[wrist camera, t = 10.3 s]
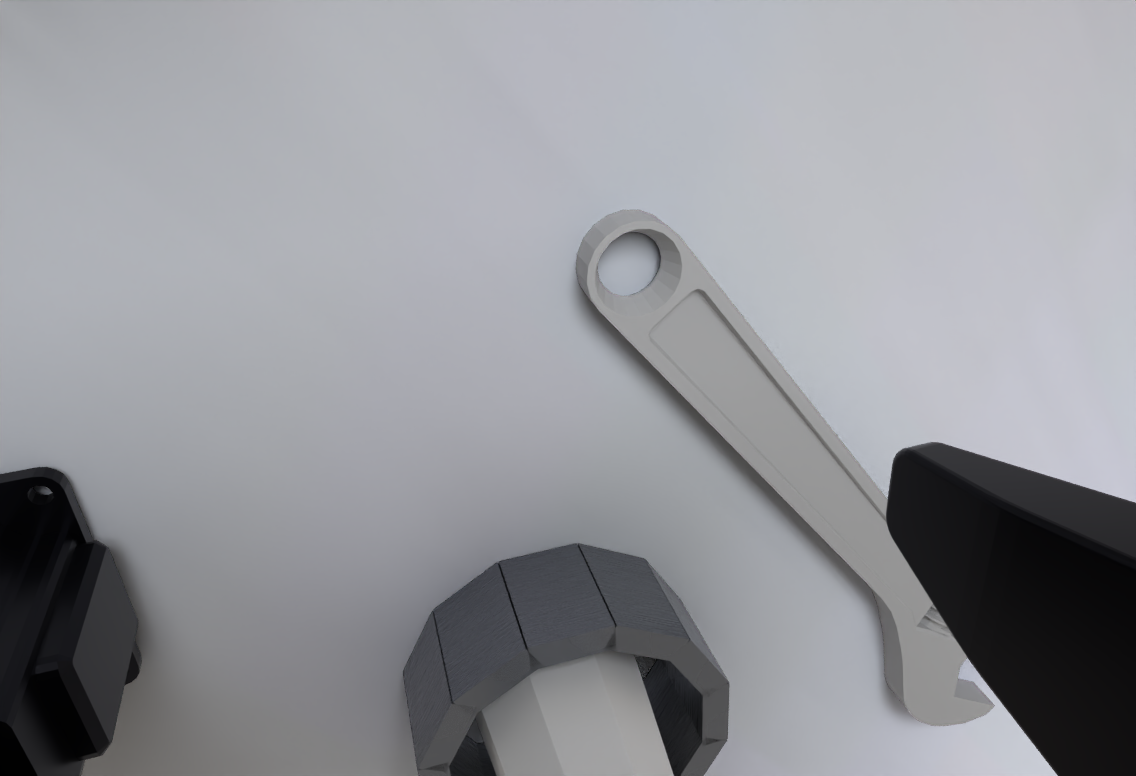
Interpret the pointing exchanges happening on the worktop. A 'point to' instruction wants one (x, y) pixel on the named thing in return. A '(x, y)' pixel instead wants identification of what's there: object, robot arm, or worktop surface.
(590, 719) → the salt shaker
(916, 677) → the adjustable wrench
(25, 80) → the worktop surface
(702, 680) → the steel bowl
